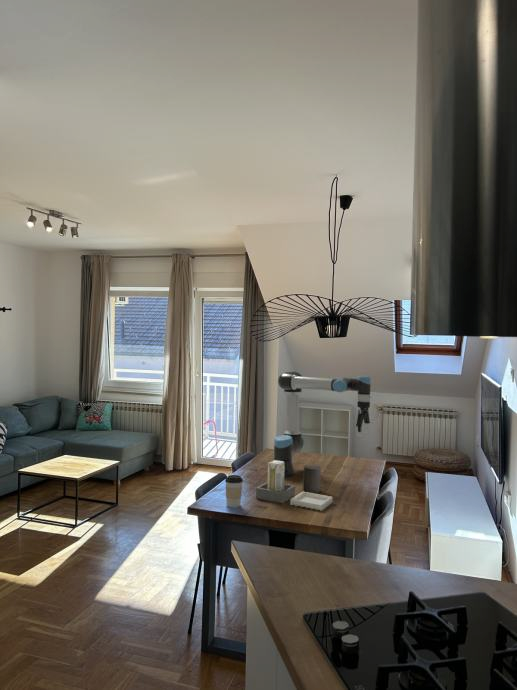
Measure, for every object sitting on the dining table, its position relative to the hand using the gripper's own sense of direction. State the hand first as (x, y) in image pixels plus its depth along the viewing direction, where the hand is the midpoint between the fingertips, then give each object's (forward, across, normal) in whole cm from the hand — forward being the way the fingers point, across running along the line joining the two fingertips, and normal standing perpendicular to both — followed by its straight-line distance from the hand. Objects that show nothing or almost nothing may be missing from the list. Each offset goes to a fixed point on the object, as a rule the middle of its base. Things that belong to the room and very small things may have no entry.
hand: (362, 435), depth 301 cm
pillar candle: (+28, -36, +18) cm, 49 cm away
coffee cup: (+28, -81, +43) cm, 96 cm away
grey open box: (+28, -58, +31) cm, 71 cm away
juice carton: (+28, -58, +31) cm, 71 cm away
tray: (+28, -58, +10) cm, 65 cm away
